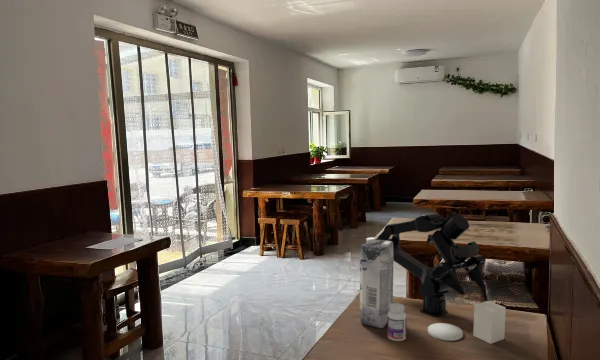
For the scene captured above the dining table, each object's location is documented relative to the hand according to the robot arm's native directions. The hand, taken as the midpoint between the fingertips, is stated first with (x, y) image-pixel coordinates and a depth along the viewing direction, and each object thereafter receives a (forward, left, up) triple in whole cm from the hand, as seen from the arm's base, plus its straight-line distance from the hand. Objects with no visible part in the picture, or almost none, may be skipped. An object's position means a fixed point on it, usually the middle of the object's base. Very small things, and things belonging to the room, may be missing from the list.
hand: (474, 291), depth 137 cm
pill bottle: (-12, -21, -12) cm, 27 cm away
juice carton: (-23, -17, -12) cm, 32 cm away
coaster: (-4, -8, -12) cm, 15 cm away
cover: (+6, -1, -12) cm, 13 cm away
